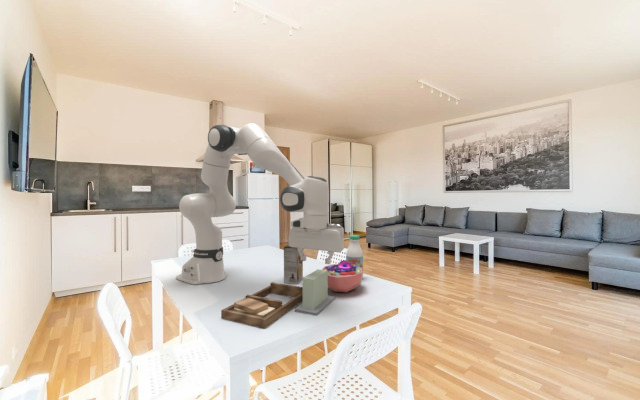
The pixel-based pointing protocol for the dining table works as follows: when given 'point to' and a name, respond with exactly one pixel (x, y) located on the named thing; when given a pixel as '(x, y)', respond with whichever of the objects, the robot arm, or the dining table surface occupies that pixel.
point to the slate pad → (318, 308)
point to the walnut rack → (277, 304)
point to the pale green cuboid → (315, 289)
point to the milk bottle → (355, 252)
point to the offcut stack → (253, 307)
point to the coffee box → (292, 265)
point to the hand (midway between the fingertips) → (315, 262)
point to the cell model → (344, 276)
